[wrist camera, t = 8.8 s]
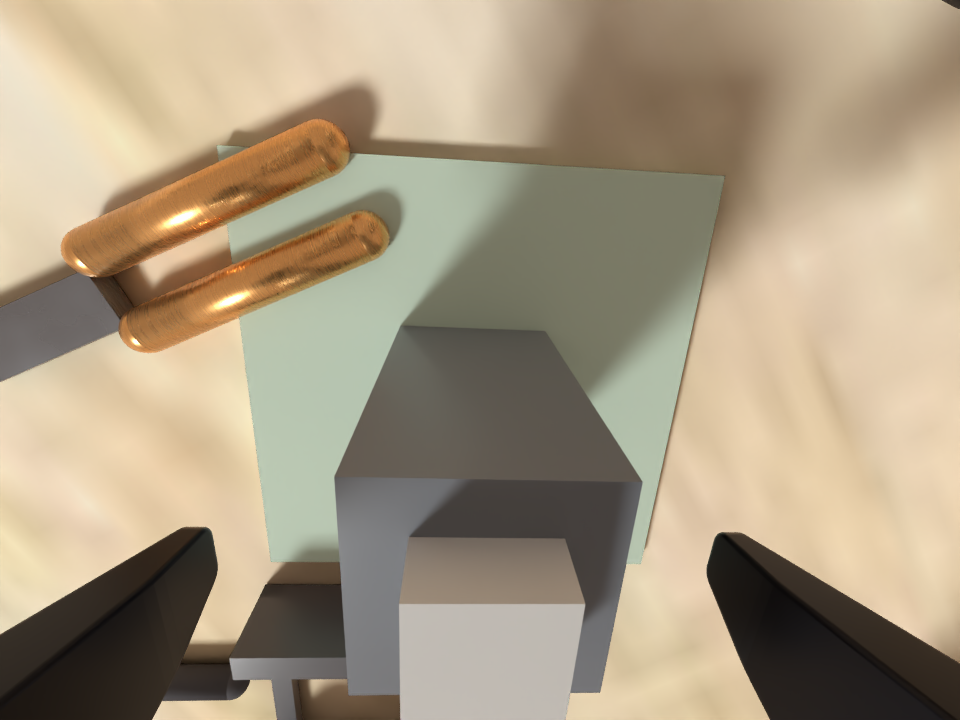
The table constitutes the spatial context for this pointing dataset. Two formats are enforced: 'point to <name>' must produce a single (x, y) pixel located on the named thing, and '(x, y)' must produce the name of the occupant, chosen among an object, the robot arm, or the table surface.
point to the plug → (481, 529)
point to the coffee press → (953, 3)
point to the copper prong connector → (176, 220)
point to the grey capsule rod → (205, 683)
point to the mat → (472, 306)
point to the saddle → (292, 642)
